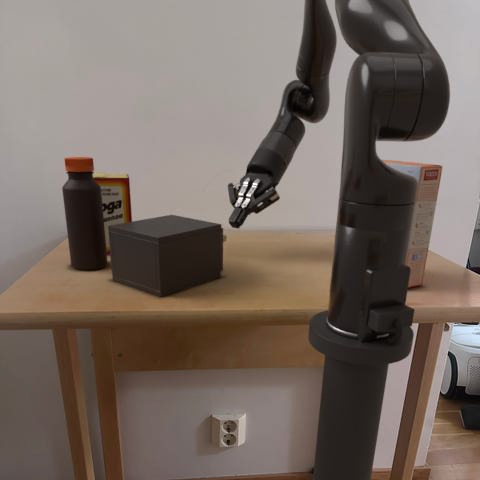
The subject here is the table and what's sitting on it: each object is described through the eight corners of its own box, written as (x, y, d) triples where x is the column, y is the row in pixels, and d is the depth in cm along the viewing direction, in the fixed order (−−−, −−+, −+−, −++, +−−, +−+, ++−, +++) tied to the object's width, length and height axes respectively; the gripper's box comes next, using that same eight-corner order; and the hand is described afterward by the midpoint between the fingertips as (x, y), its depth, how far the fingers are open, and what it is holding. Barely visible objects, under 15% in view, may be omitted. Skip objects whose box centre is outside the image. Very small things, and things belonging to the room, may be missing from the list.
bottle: (71, 262, 96) (58, 156, 89) (106, 260, 99) (97, 156, 91) (71, 272, 91) (58, 159, 83) (109, 269, 93) (99, 159, 85)
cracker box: (423, 285, 87) (445, 164, 79) (401, 291, 84) (420, 165, 76) (366, 266, 98) (380, 158, 90) (344, 270, 95) (357, 158, 87)
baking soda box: (132, 245, 110) (127, 172, 104) (134, 252, 104) (129, 175, 98) (89, 247, 108) (81, 172, 102) (88, 254, 102) (80, 176, 96)
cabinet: (173, 263, 97) (171, 214, 93) (221, 277, 90) (221, 224, 86) (112, 280, 87) (107, 225, 83) (160, 297, 79) (158, 237, 75)
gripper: (239, 145, 104) (200, 210, 100) (291, 148, 96) (251, 218, 92) (254, 169, 109) (217, 231, 105) (303, 174, 102) (266, 241, 98)
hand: (233, 225), depth 99 cm, fingers closed
